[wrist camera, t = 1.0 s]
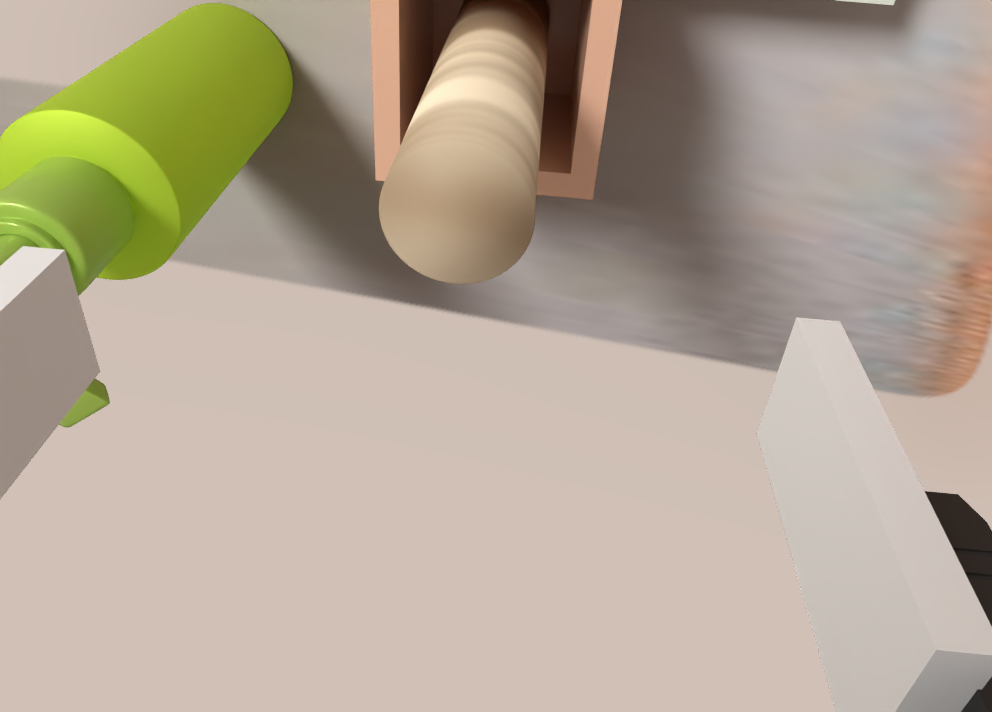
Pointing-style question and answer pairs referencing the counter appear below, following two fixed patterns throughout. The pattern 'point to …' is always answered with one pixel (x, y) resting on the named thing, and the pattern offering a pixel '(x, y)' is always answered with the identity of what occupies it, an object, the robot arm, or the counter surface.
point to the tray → (873, 1)
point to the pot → (567, 97)
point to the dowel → (473, 148)
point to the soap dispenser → (141, 149)
